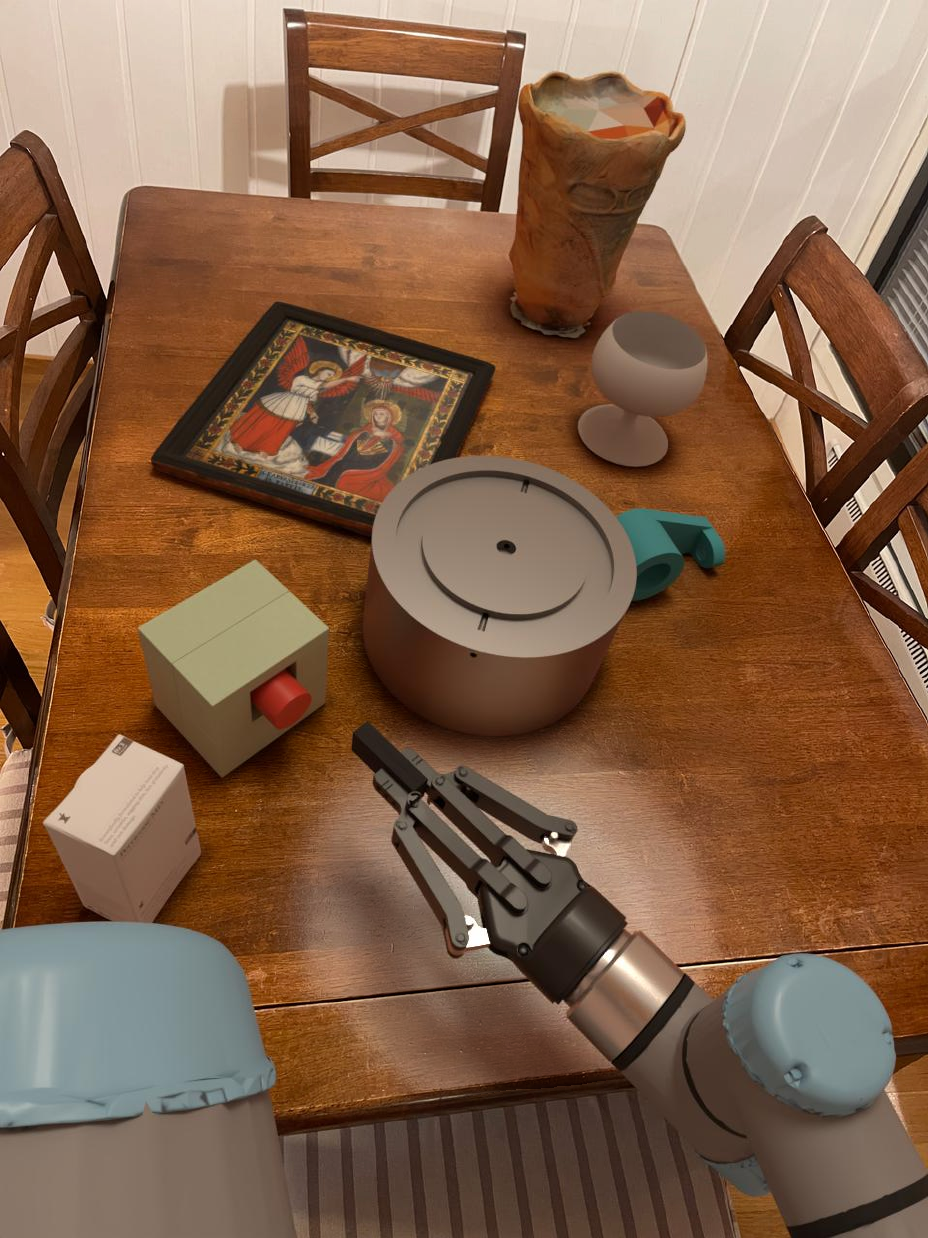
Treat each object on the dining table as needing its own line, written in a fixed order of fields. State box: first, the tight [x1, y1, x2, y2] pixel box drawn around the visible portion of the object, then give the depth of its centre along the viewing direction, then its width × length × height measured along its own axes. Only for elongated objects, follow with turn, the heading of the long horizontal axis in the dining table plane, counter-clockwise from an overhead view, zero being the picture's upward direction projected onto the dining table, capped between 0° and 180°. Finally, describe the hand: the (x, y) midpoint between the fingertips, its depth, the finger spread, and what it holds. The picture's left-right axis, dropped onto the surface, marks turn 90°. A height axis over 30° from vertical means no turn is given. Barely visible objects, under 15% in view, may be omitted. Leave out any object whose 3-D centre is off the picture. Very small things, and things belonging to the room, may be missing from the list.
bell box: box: [137, 559, 330, 779], centre depth 79 cm, size 10×12×12 cm
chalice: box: [577, 310, 709, 468], centre depth 110 cm, size 14×14×15 cm
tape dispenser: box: [615, 507, 726, 602], centre depth 99 cm, size 7×15×8 cm, turn 111°
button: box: [250, 669, 312, 729], centre depth 75 cm, size 6×4×4 cm
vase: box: [508, 70, 687, 339], centre depth 121 cm, size 21×20×30 cm
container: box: [362, 455, 637, 737], centre depth 88 cm, size 25×25×13 cm
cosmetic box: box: [42, 734, 202, 923], centre depth 66 cm, size 8×6×15 cm
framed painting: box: [150, 301, 496, 538], centre depth 108 cm, size 38×35×3 cm
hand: (359, 735), depth 67 cm, fingers closed
